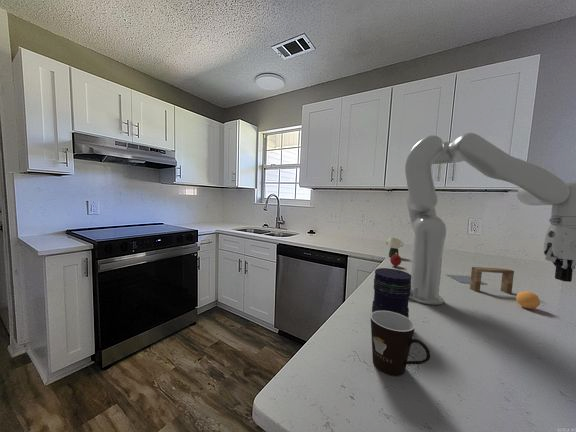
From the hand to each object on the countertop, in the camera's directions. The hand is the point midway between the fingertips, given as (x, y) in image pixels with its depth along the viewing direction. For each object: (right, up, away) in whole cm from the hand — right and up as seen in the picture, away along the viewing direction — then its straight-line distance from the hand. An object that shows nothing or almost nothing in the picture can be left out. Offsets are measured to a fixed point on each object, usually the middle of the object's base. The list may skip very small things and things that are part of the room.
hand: (562, 280), depth 73 cm
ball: (-1, -10, +10) cm, 14 cm away
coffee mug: (-65, -12, -25) cm, 71 cm away
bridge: (0, -12, +26) cm, 29 cm away
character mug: (-15, -8, +84) cm, 86 cm away
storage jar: (-57, -11, -5) cm, 59 cm away
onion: (-26, -9, +59) cm, 65 cm away
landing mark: (+1, -11, +41) cm, 43 cm away
